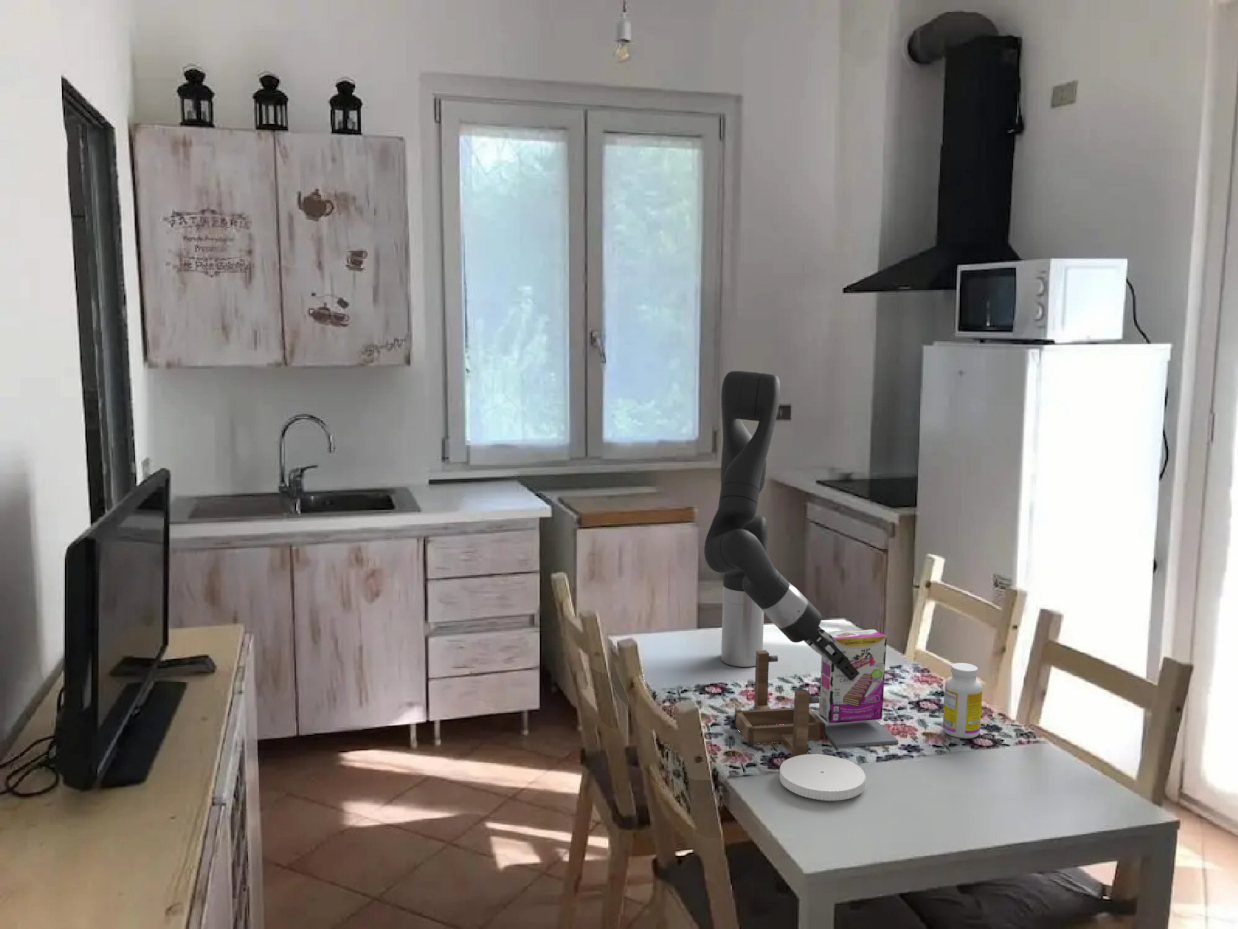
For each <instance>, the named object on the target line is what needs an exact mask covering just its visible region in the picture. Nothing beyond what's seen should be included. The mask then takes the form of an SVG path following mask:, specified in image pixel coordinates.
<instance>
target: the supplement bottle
mask: <svg viewBox="0 0 1238 929" xmlns="http://www.w3.org/2000/svg"><path fill="white" fill-rule="evenodd" d="M950 672H951V676H949V677H947V679H946V680H945V682H944V697H943V715H942V716H943V717H942V729H943V731H944V732H945V734H947V735H949V736H951V737H954V738H960V739H973V738H977V737H978V736H979V735H980V732H981V721H982V720H981V718H982V701H983V700H982V699H983V685H982V683H981V682H980V681H979V679H977V677H978V675H979V674H978V673H979V668H978V666H976V665H974V664H971V663H967V662H966V663H965V662H957V663H956V662H955V663H952V664H951V669H950Z"/></svg>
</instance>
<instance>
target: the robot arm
mask: <svg viewBox="0 0 1238 929" xmlns="http://www.w3.org/2000/svg"><path fill="white" fill-rule="evenodd" d="M720 395H721V396H720V402H721V404H720V405H721V408H720V409H721V421H722V424H721V425H722V449H721V460H720V462H721V463H720V494H719V500H718V507H717V510H716V513H715V515H714V516H713V519H712V522H711V525H710V526H709V529H708V532H707V534H706V538H705V541H704V548H703V549H704V558H705V561H706V564H707V565H708V567H709V568H710V569H711V570H712V571H714V572H717V573H723V579H722V580H723V581H722V618H721V621H722V624H721V647H720V649H721V650H720V651H721V653H720V656H721V657H720V660H721V662H723V663H724V664H726V665H730V666H734V667H740V668H741V667H742V668H743V667H744V668H748V667H754V666H755V667H756V650H764V649H763V647H764V627H765V626H764V623H765V622H764V621H765V620H764V619H765V618H764V617H765V616H766V617H767V619H769V620H770V622H771V623H773V625H775V627H777V629H778V630H779V631H780V632H781V633H782V634H783V635H784V636H785V637H786V638H787V639H788V640H789V641H790V642H792V643H801V642H804V643H805V644H806V645H807V646H808V647H810V648H811V649H812V650H813V651H815V652H816V653H818V654H819V655H820V656H821V658H822V657H823V658H824V659H825V660H827V661H828V660H830V661H831V662H832V663H833V664H834V665H835V667H836V668H837V669H839V670H840V671H841V672H842V673H843V674H844V675H845V676H846V677H847V678H848V679H849V680H853V679H854V678H855V677H856V676H857V675H858V674H859V672H858V671H857V670H856V669H855V668H854V667H853V665H852V664H851V663H850V662H849V659H848V657H846V656H845V655H844V654H843V653H842V652H841V651H840V650H839V649H840V648H839V646H838V645H837V644H836V643H835V642H834V641H833V640H832V639H831V638H830V637H829V635H828V634H827V633H826V632H827V631H826V630H824V629H822V628H821V626H820V624H821V623H822V614H821V613H820V611H819V610H818V609H817V608H816V607H815V606H814V605H813V604H812V603H811V602H810V601H809V600H808V599H807V598H806V597H805V596H804V595H803V593H802V592H800V590H799V589H797V588H796V587H795V586H794V585H793V584H791V583H790V582H789V581H788V580H787V579H786V577H784V575H782V574H781V573H780V572H779V570H777V568H775V566H774V564H773V563H772V562H773V561H771V558H770V556H769V555H768V553H767V548H768V536H769V529H768V528H769V526H768V522H767V519H766V517H764V516H763V515H757V511H758V510H757V509H758V503H759V497H760V494H761V492H762V490H763V489H764V487H765V483H766V474H767V457H768V452H769V449H770V445H771V441H772V439H773V438H772V437H773V433H774V430H775V426H776V423H777V422H776V421H777V417H778V413H779V407H780V401H781V400H780V399H781V382H780V379H779V376H777V375H775V374H772V373H771V374H770V373H765V372H757V371H743V370H734V371H733V370H732V371H729V372H727V373H726V375H725V376H724V378H723V381H722V386H721V394H720ZM744 420H745V421H753V422H758V423H757V427H756V429H755V431H754V433H753V435H752V434H751V433H750V432H749V430H748V429H747V427H746V426H745V425H744V423H743V421H744ZM824 654H825V655H824ZM840 656H841V657H840ZM839 657H840V658H839ZM838 658H839V659H838ZM837 659H838V660H837ZM836 660H837V661H836Z"/></svg>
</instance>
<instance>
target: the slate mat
mask: <svg viewBox="0 0 1238 929" xmlns="http://www.w3.org/2000/svg"><path fill="white" fill-rule="evenodd" d="M812 711H813V712H814V713H815V714H816V715H817V716H818V717H819V718H820V719H821V720H822V721H823V722H824V723H825V739H828V741H829V742H830V743H831V744H832V745H833V747H835V748H836V749H837V748H853V747H863V746H864V747H865V746H866V747H867V746H869V747H870V746H881V745H883V746H885V745H895V744H899V740H898V739H897V738H896V736H894V735H893V734H892V733H891V732H890V731H889V730H888V729H887V728H885V726H883V725H882V724H881V722H879V720H878V719H877V720H865V721H854V722H842V723H828V722H827V721H826V720H824V719H823V718H822V717H821V716H819V709H817V710H815V709H814V710H812Z"/></svg>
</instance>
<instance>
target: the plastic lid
mask: <svg viewBox="0 0 1238 929" xmlns="http://www.w3.org/2000/svg"><path fill="white" fill-rule="evenodd" d="M866 776H867V775H866V773H865V771H864V770H863V769H862V768H861V767H860V766H859V765H858V764H856V763H854V762H852V761H850V760H848V759H845V758H842V757H838V756H835V755H827V754H820V753H818V754H816V753H812V754H810V753H809V754H808V753H807V755H806V754H805V755H801V756H799V755H798V756H795V757H793V756H791V757H790V758H787V759H785V760H784V761H783V762H782V763H781V764H780V766H779V781H780V783H781V785H783V787H785V789H787V790H789V791H790V792H792V793H795V794H796V795H798V796H801V797H805V798H809V799H812V800H817V801H818V800H819V801H829V802H830V801H833V802H835V801H842V800H849V799H852V798H855V797H857V796H859V795H861V794H862V793H863V792H864V790H865V789H866V779H867V777H866Z"/></svg>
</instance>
